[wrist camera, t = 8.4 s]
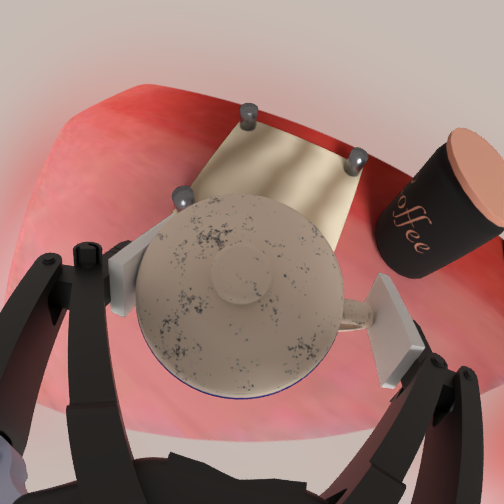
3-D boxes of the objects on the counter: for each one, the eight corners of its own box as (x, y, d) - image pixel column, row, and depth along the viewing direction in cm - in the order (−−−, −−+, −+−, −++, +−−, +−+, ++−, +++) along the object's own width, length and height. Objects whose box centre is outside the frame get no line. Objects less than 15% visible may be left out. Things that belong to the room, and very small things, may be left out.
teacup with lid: (165, 366, 18) (82, 378, 7) (188, 247, 21) (148, 143, 10) (331, 387, 18) (431, 414, 7) (341, 270, 21) (426, 192, 10)
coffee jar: (371, 201, 36) (438, 111, 19) (430, 218, 36) (504, 150, 19) (371, 274, 32) (466, 205, 16) (434, 286, 32) (531, 236, 15)
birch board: (359, 173, 38) (363, 167, 36) (316, 290, 31) (319, 287, 30) (243, 123, 40) (243, 116, 38) (172, 221, 33) (170, 215, 32)
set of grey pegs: (360, 167, 36) (369, 152, 33) (318, 283, 30) (328, 275, 27) (244, 118, 38) (245, 101, 35) (173, 214, 32) (167, 199, 29)
